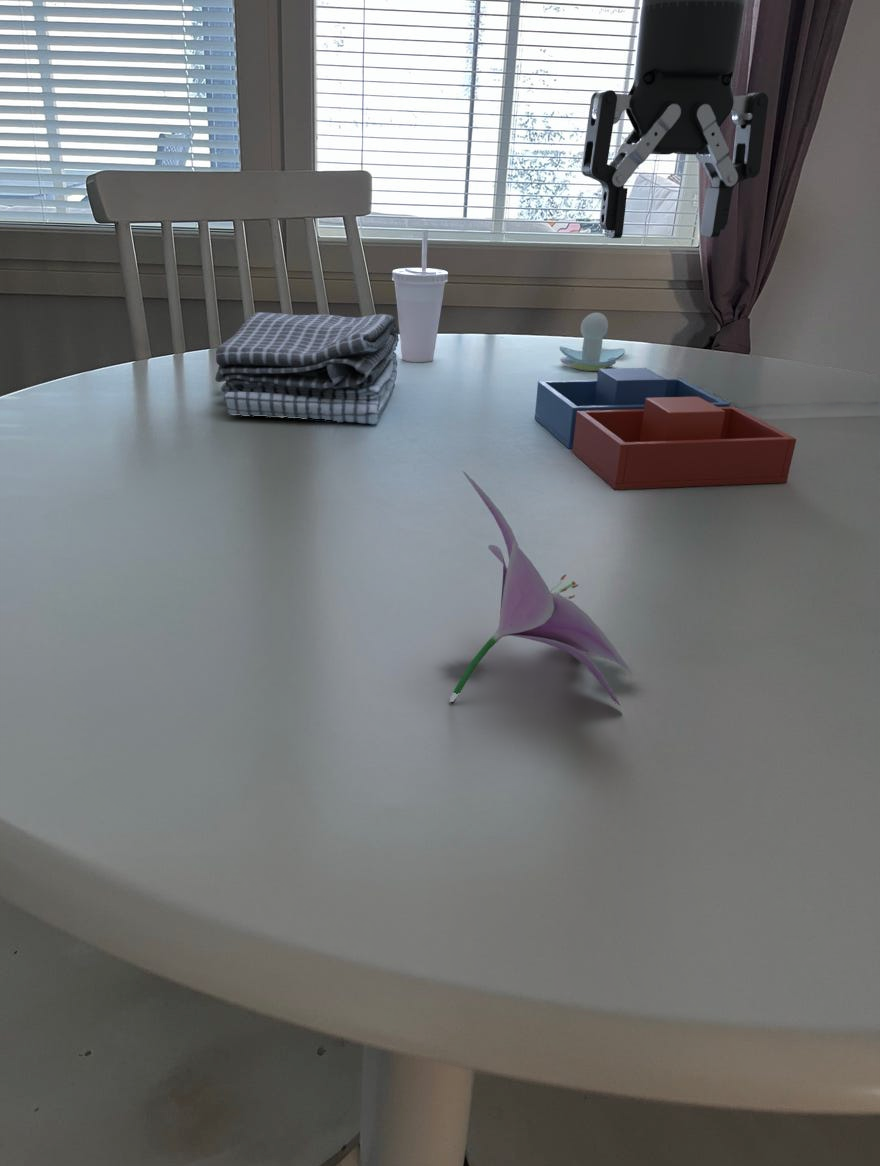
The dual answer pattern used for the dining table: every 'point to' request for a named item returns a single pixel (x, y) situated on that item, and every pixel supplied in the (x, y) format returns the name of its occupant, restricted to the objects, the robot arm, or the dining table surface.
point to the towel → (310, 366)
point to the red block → (680, 419)
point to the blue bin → (568, 397)
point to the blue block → (628, 386)
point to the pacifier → (592, 346)
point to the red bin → (681, 452)
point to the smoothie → (419, 307)
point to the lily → (541, 610)
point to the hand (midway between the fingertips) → (661, 237)
